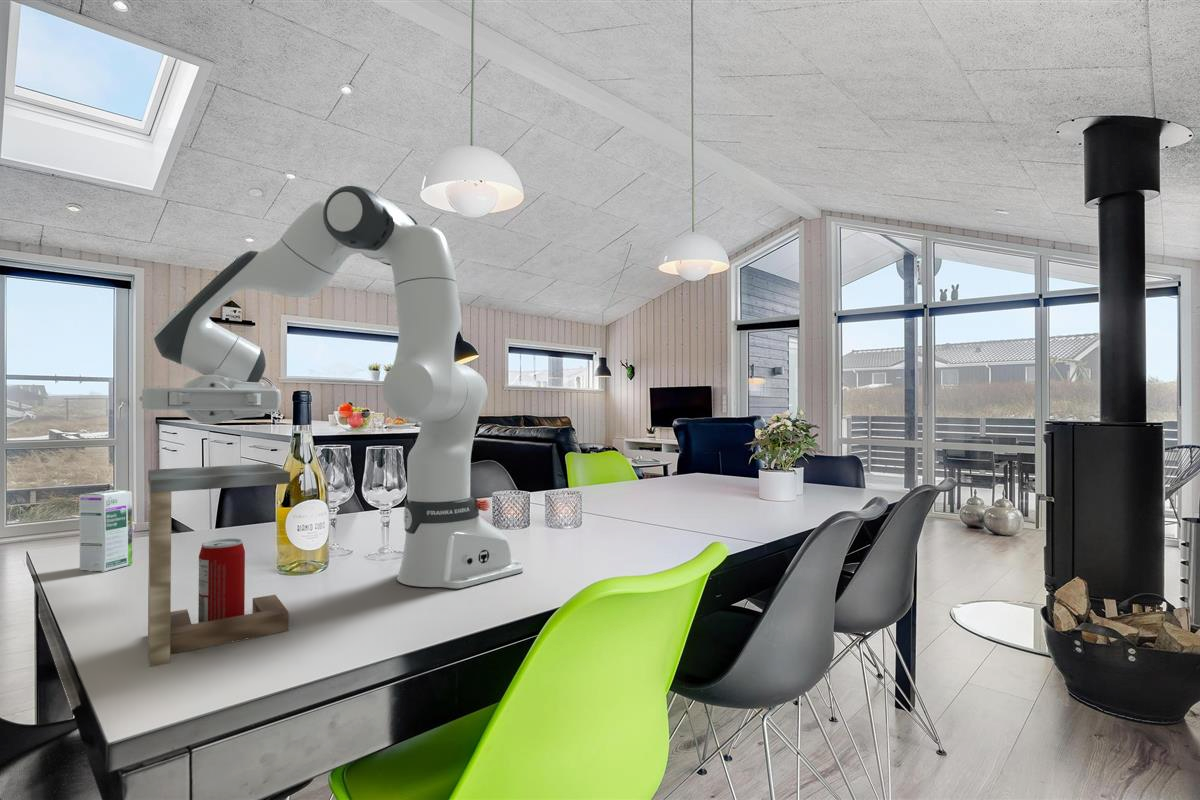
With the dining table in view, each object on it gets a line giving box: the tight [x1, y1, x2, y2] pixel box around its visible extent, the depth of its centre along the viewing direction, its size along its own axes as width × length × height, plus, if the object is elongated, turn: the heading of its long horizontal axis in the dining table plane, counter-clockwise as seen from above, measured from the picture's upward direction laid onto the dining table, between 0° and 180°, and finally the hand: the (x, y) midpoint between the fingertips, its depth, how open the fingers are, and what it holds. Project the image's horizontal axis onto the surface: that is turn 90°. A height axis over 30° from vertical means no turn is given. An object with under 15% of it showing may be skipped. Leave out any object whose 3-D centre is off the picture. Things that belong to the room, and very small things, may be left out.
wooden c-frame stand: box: [147, 463, 291, 668], centre depth 83 cm, size 15×15×22 cm
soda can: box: [197, 538, 246, 623], centre depth 86 cm, size 6×6×12 cm
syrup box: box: [78, 489, 133, 573], centre depth 117 cm, size 6×6×14 cm
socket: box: [170, 594, 290, 655], centre depth 84 cm, size 14×10×2 cm
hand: (219, 398), depth 100 cm, fingers open, 8 cm apart
